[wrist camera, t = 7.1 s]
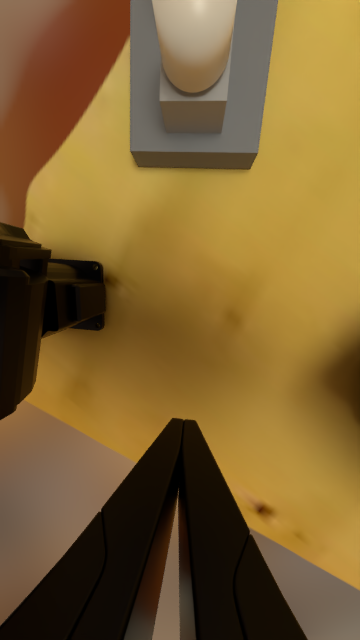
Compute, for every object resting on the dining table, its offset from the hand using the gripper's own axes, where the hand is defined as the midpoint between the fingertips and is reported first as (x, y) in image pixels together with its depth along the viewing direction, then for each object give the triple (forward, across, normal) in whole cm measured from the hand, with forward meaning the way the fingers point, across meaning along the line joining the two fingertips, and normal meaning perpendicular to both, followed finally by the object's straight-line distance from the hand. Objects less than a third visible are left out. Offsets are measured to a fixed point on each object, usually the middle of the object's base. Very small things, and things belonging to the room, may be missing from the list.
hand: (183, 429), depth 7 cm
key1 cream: (+10, +1, -17) cm, 19 cm away
